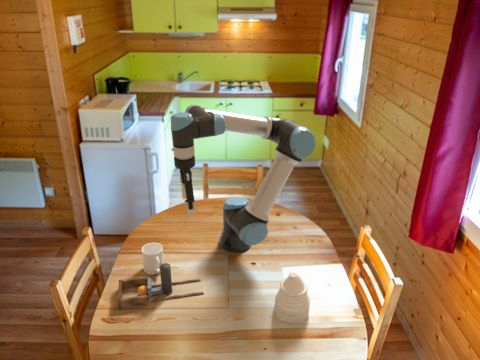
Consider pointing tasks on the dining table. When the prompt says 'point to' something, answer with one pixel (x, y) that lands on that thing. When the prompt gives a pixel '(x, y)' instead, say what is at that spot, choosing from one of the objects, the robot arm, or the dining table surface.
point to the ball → (142, 290)
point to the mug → (152, 258)
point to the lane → (176, 295)
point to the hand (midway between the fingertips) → (188, 206)
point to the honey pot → (292, 299)
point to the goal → (132, 300)
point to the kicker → (162, 281)
